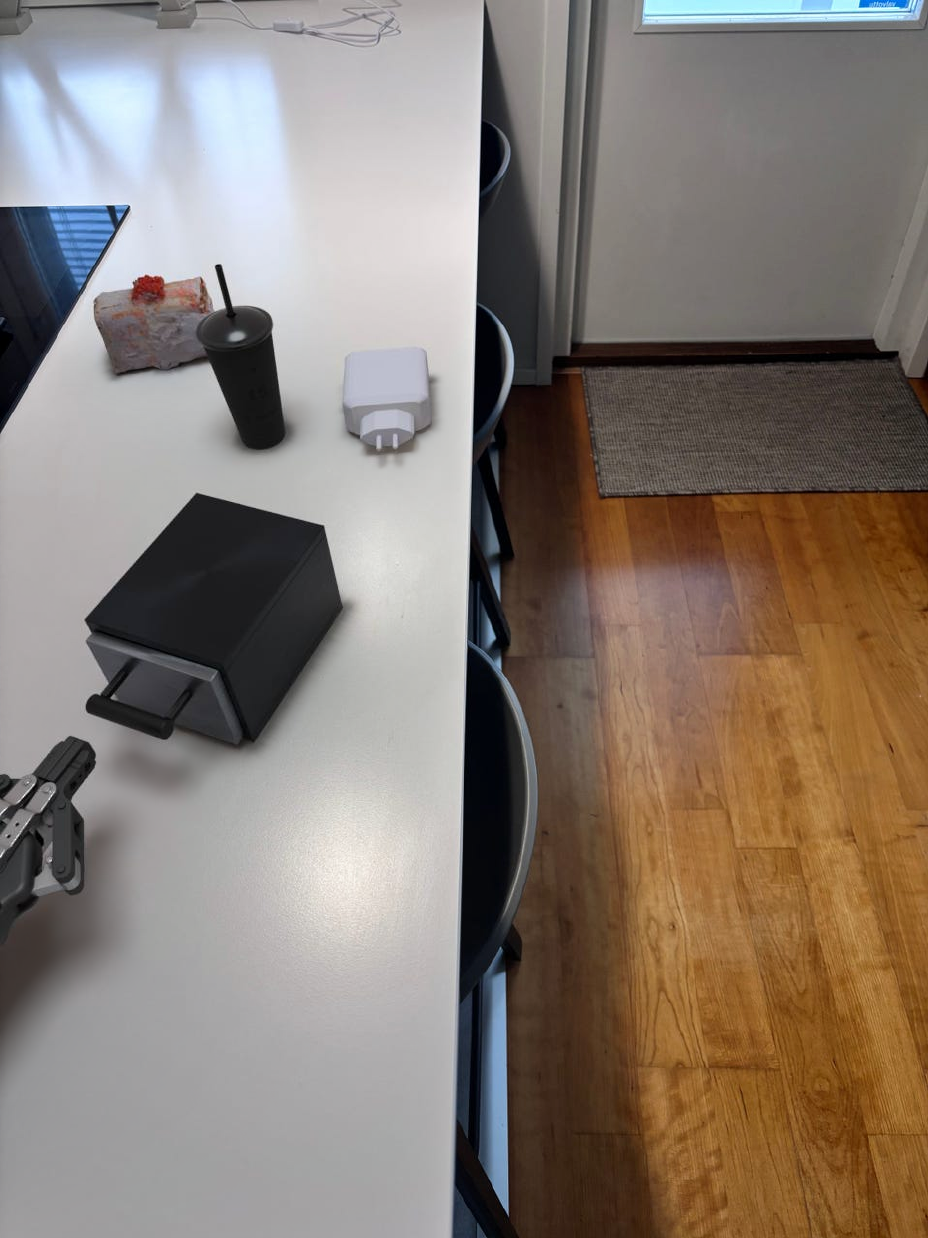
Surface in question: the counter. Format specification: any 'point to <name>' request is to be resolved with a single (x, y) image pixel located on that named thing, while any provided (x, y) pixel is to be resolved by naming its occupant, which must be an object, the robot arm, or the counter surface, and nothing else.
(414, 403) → the charger
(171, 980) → the counter surface
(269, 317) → the drinking cup
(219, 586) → the cabinet
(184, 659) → the drawer
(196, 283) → the food item
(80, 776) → the robot arm
